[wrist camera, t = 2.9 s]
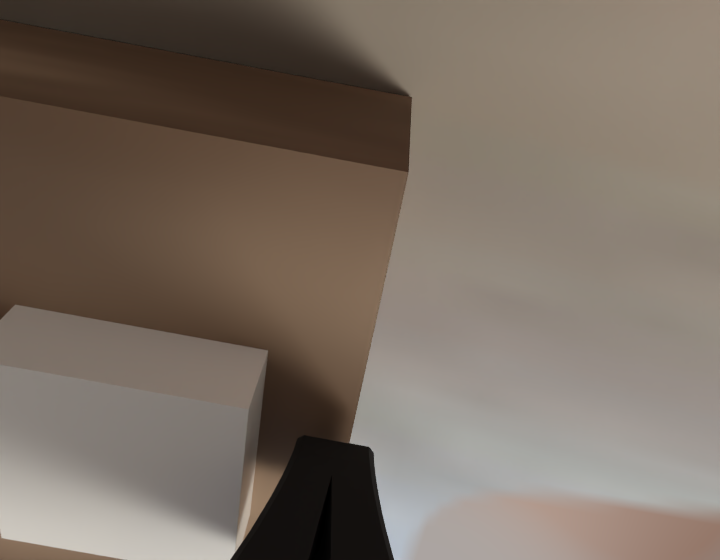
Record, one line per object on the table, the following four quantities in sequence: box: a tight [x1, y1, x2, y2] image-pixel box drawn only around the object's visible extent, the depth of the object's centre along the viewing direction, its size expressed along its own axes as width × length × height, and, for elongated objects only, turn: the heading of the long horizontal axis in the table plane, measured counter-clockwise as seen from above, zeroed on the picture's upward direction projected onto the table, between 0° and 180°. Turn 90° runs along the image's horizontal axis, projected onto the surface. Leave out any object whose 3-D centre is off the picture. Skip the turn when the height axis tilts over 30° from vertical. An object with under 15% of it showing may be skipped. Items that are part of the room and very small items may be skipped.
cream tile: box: [0, 305, 268, 560], centre depth 12 cm, size 4×4×2 cm
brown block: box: [0, 20, 412, 560], centre depth 14 cm, size 12×13×4 cm
